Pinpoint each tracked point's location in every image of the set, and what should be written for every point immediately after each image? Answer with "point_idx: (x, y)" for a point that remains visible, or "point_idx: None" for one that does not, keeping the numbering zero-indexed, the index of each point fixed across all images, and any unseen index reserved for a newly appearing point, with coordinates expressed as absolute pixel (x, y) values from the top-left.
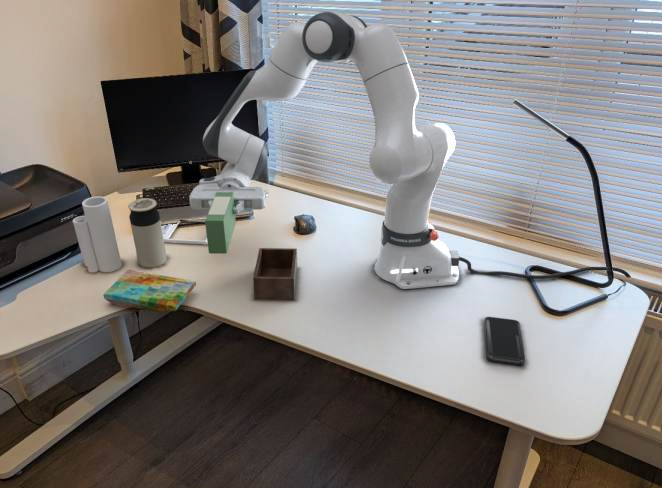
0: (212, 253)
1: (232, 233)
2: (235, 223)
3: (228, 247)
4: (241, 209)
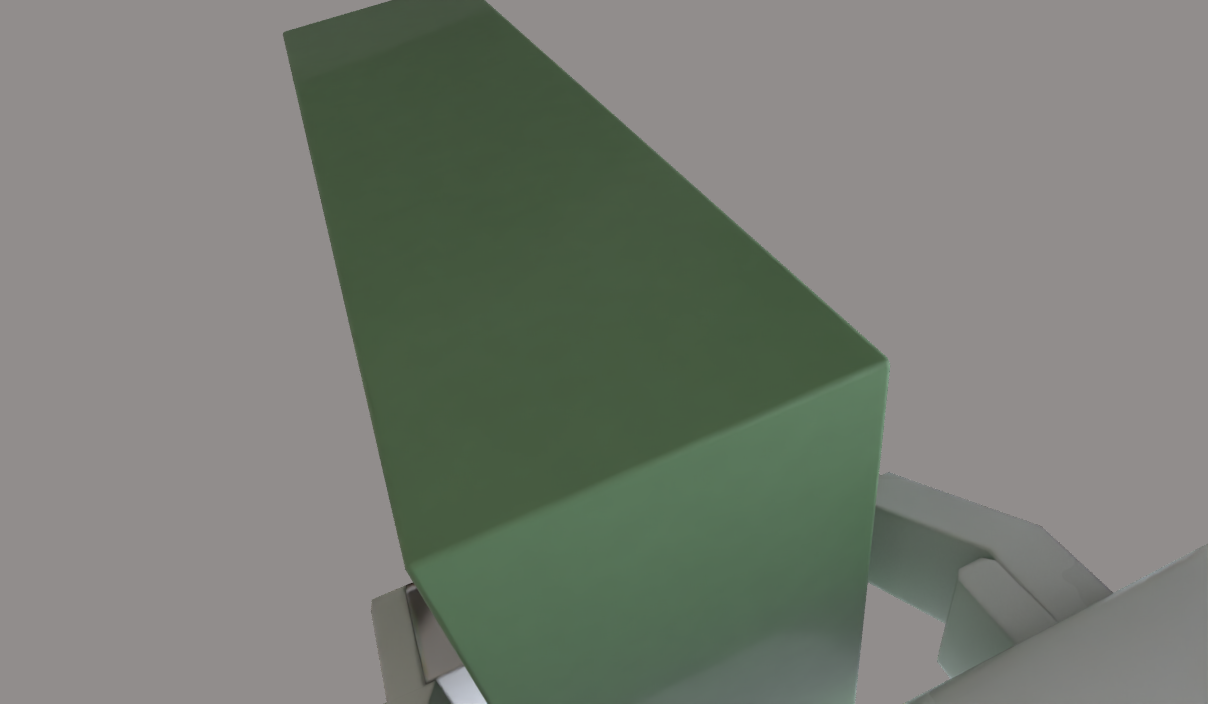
0: (320, 22)
1: (623, 133)
2: (850, 342)
3: (495, 11)
4: (948, 512)
